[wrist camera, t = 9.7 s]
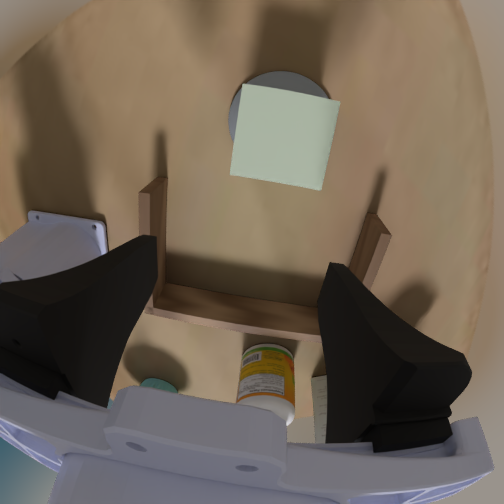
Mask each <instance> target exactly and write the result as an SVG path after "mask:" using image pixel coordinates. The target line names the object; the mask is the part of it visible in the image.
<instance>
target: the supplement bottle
mask: <svg viewBox="0 0 504 504" xmlns="http://www.w3.org/2000/svg"><path fill="white" fill-rule="evenodd" d="M236 404H243V405H251V406H255V407H259V408H263V409H267V410H271V411H272V412H274V413H275V414H276V415H278V416H279V417H281V418H282V419H284V420H285V421H286V425H289V424H290V423H291V422H292V420H293V419H294V416H295V380H294V359H293V356H292V354H291V353H290V352H289V351H288V350H287V349H286V348H284V347H282V346H279V345H276V344H259V345H255V346H252V347H251V348H249V349H247V350H246V351H245V353H244V354H243V356H242V360H241V367H240V375H239V382H238V390H237V398H236Z"/></svg>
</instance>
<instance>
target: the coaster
mask: <svg viewBox="0 0 504 504" xmlns="http://www.w3.org/2000/svg"><path fill="white" fill-rule="evenodd" d="M246 84H250V85H257V86H264V87H270V88H277V89H282V90H288V91H293V92H299V93H304V94H308V95H313V96H318V97H322V98H326V99H328V97H327V95H326V94H325V93H324V91H323V90H322V89H321V88H320V87H319V86H318V85H317V84H316V83H314V82H313V81H312V80H310V79H308V78H307V77H305V76H302V75H300V74H297V73H293V72H287V71H275V72H268V73H265V74H262V75H259V76H257V77H255V78H253V79H252V80H250V81H249V82H247V83H246ZM241 91H242V88H241V89H240V90H239V92H238V93H237V94H236V96H235V98H234V100H233V102H232V104H231V107H230V112H229V130H230V135H231V137H232V140H233V142H234V139H235V132H236V125H237V118H238V111H239V105H240V98H241Z"/></svg>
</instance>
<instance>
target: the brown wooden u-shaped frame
mask: <svg viewBox="0 0 504 504" xmlns="http://www.w3.org/2000/svg"><path fill="white" fill-rule="evenodd" d="M167 181H168V178H162V177H157V178H156V179H155V180H153V181H152V182H151V183H150V184H148V185H147V186H146V187H145V188H143V189H142V190H141V191H140V192H139V236H141V235H143V234H144V235H151V236H157V260H158V279H157V282H156V284H155V287H154V290H153V292H152V295H151V297H150V299H149V301H148V302H147V304H146V306H145V308H144V310H145V313H147V314H151V315H156V316H160V317H165V318H169V319H174V320H179V321H184V322H189V323H194V324H199V325H205V326H210V327H215V328H221V329H227V330H233V331H239V332H245V333H251V334H258V335H264V336H271V337H278V338H286V339H293V340H301V341H310V342H319V343H322V340H321V335H320V329H319V323H318V308H315V307H308V306H301V305H294V304H287V303H281V302H274V301H268V300H261V299H255V298H249V297H243V296H237V295H231V294H225V293H219V292H214V291H208V290H202V289H197V288H192V287H186V286H181V285H176V284H171V283H166V205H167ZM391 236H392V235H391V234H390V232H389V231H388V229H387V228H386V227H385V225H384V224H383V222H382V221H381V220H380V218H379V217H378V215H376V214H372V213H367V216H366V219H365V222H364V225H363V228H362V231H361V234H360V238H359V240H358V243H357V246H356V249H355V252H354V255H353V258H352V261H351V264H350V266H349V270H350V271H351V272H352V273H353V274H354V275H355V276H356V277H357V278H358V279H359V280H360V281H361V282H362V283H363V284H364V285H365V286H366V288H367V289H368V290H369V291H370V289H371V286H372V284H373V282H374V279H375V277H376V275H377V272H378V270H379V267H380V265H381V262H382V260H383V257H384V255H385V252H386V250H387V247H388V244H389V242H390V239H391Z"/></svg>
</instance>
